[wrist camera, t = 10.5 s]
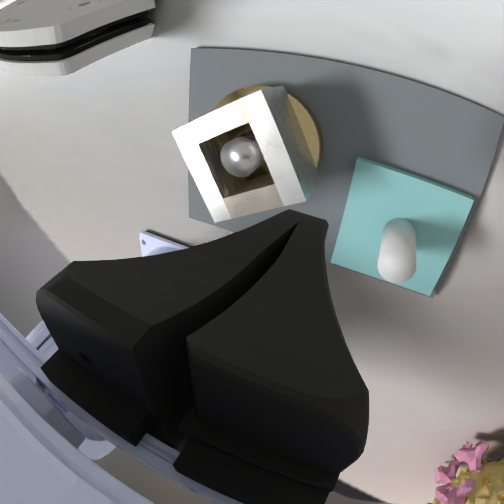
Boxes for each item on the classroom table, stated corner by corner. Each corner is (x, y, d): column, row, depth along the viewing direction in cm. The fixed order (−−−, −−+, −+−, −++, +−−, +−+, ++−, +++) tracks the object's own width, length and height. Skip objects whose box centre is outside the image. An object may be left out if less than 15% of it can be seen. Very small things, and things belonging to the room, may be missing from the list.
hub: (312, 208, 19) (294, 236, 17) (212, 181, 21) (181, 202, 19) (331, 96, 15) (316, 103, 13) (217, 79, 17) (181, 85, 15)
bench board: (432, 294, 19) (432, 298, 19) (192, 215, 24) (189, 217, 24) (502, 116, 12) (505, 117, 11) (194, 48, 17) (191, 48, 17)
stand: (429, 290, 19) (429, 333, 16) (332, 257, 21) (316, 295, 18) (471, 196, 14) (486, 229, 11) (357, 156, 16) (346, 179, 13)
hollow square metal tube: (321, 180, 17) (306, 201, 15) (238, 201, 20) (214, 222, 18) (283, 85, 15) (260, 89, 13) (202, 120, 18) (172, 132, 16)
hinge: (173, -26, 14) (38, 23, 9) (169, 31, 18) (53, 95, 13) (50, -25, 16) (-39, 20, 11) (54, 12, 20) (-28, 60, 15)
